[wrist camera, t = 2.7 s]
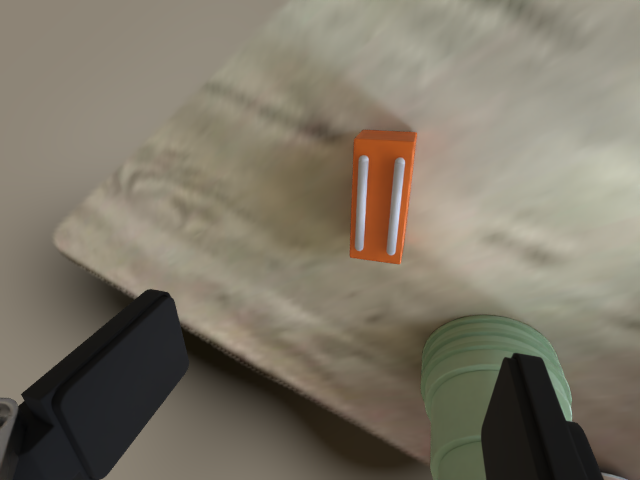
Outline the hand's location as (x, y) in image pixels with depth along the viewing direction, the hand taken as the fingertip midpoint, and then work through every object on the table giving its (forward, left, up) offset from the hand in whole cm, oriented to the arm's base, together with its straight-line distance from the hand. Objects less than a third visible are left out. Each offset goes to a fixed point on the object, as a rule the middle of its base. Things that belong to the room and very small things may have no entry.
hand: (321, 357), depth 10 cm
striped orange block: (0, 0, -13) cm, 13 cm away
